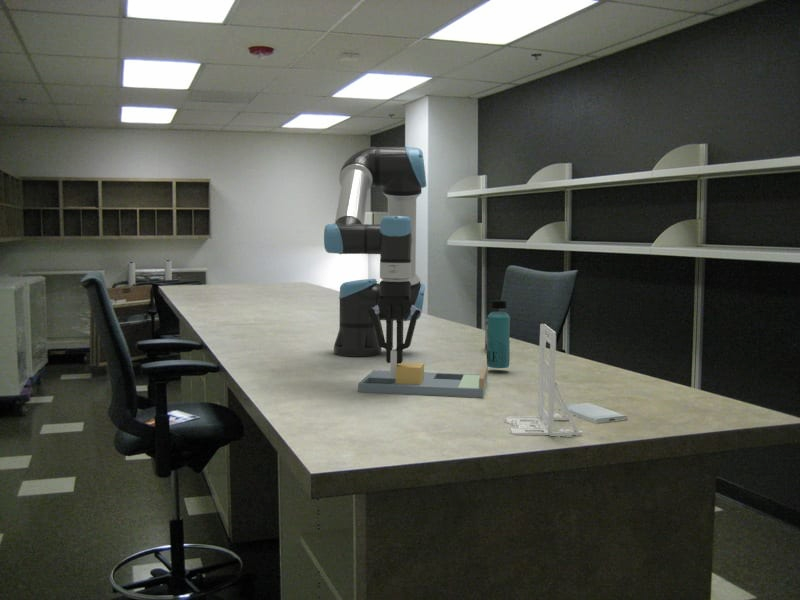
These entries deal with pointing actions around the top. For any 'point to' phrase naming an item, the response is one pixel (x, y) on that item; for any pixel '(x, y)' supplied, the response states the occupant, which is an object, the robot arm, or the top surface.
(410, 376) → the ochre block
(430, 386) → the board
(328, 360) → the top surface
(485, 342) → the brown semicircular wedge
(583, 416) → the hard drive
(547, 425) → the white bracket stand
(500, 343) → the beverage bottle
